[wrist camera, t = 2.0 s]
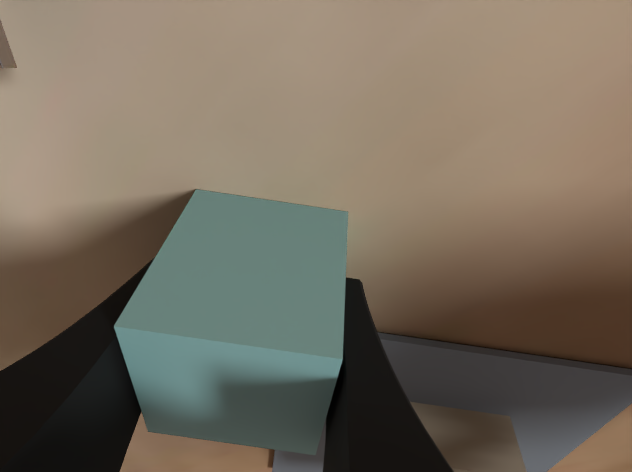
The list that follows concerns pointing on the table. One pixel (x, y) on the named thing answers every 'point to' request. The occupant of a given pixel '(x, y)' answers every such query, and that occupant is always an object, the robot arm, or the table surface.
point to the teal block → (240, 323)
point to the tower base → (472, 438)
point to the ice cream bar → (5, 51)
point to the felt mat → (501, 395)
